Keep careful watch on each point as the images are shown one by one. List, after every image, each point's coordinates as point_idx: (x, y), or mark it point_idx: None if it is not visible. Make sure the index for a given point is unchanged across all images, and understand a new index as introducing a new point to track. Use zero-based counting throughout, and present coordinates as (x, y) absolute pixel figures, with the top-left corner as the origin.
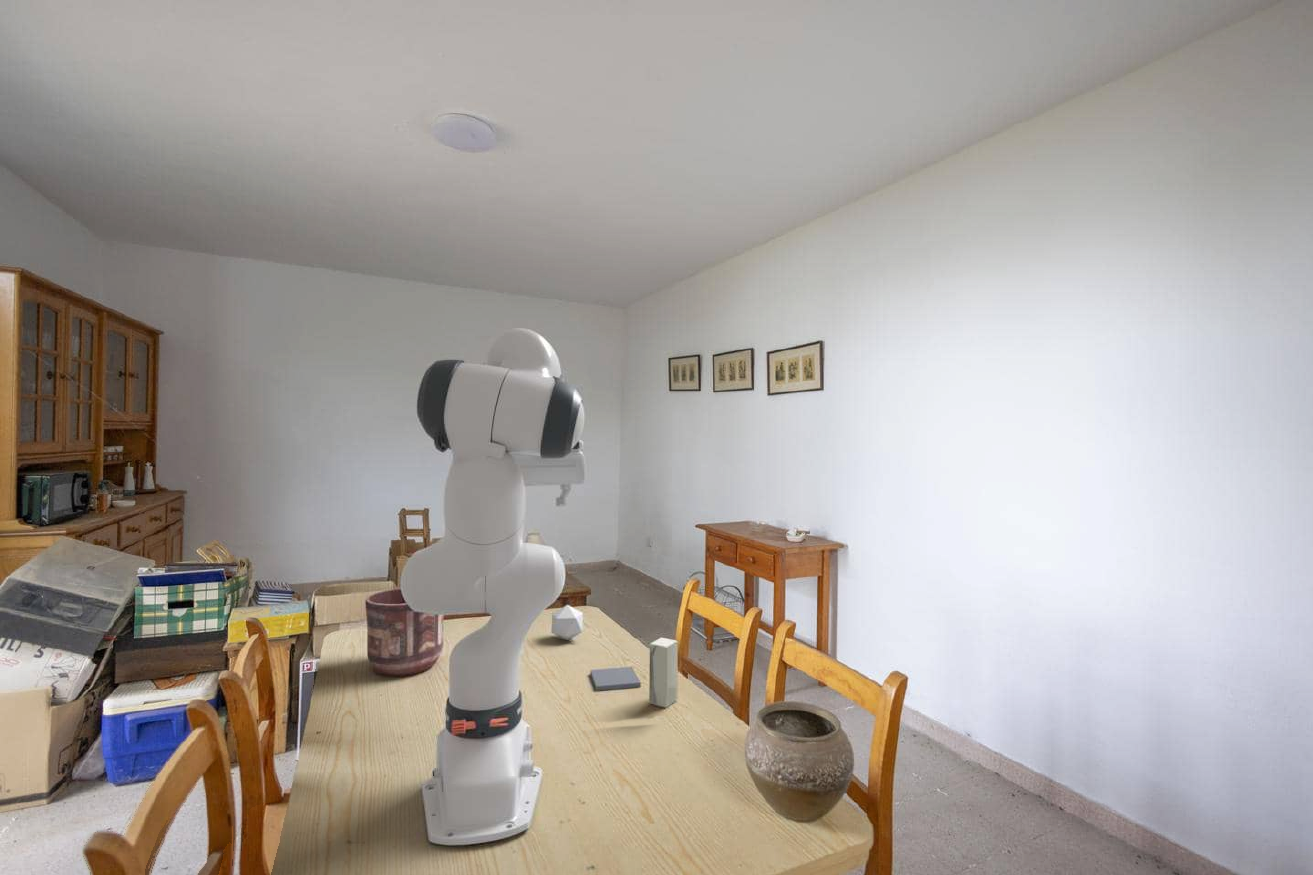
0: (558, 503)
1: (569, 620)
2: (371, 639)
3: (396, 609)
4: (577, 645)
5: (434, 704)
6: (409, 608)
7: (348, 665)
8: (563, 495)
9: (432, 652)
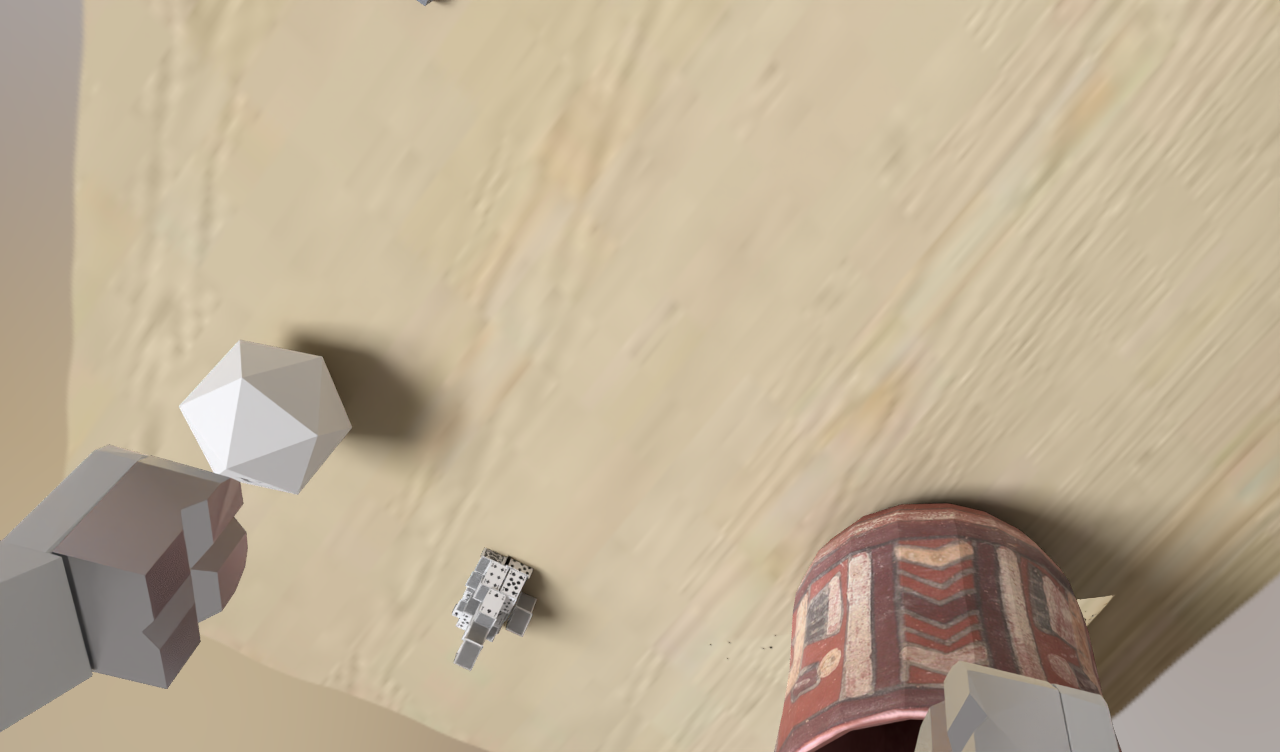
0: (209, 549)
1: (273, 390)
2: None
3: None
4: (298, 303)
5: (1094, 244)
6: None
7: None
8: (15, 611)
9: (905, 529)
